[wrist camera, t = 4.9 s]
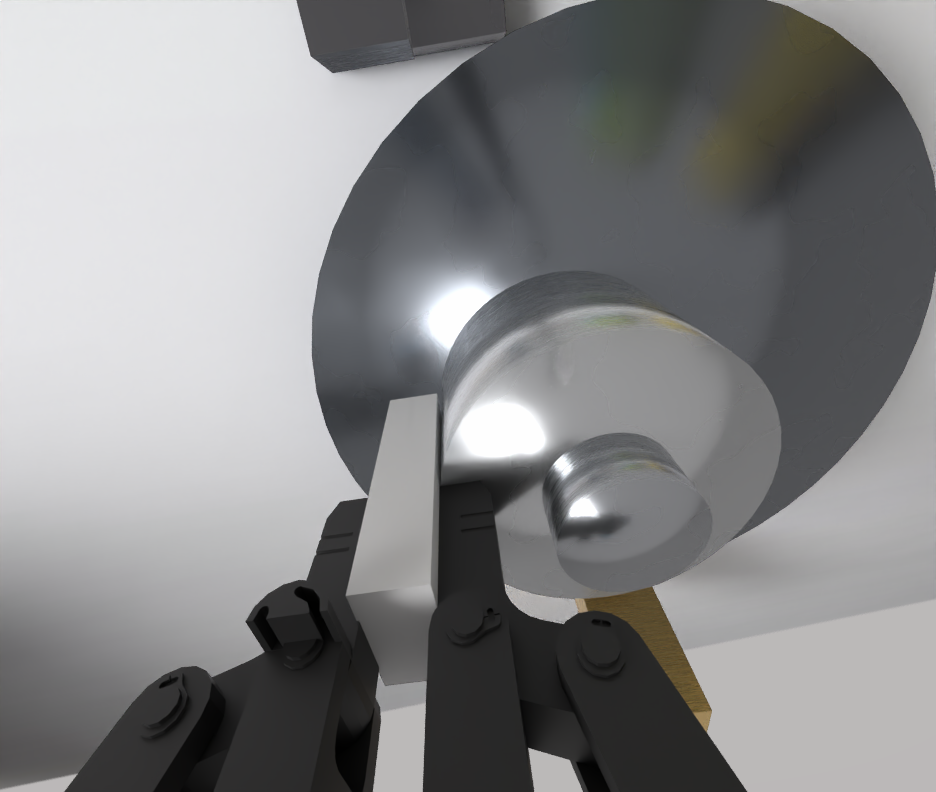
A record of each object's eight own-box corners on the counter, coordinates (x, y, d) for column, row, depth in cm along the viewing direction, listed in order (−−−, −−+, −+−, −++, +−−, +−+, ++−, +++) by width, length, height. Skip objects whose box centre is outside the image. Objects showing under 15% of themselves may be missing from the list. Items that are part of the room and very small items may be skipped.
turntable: (407, 612, 22) (392, 785, 16) (225, 79, 11) (-29, -12, 5) (801, 558, 22) (942, 716, 16) (1002, -59, 11) (1728, -341, 5)
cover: (459, 495, 17) (468, 673, 11) (421, 291, 13) (402, 400, 7) (667, 467, 17) (787, 633, 11) (691, 251, 13) (897, 330, 7)
